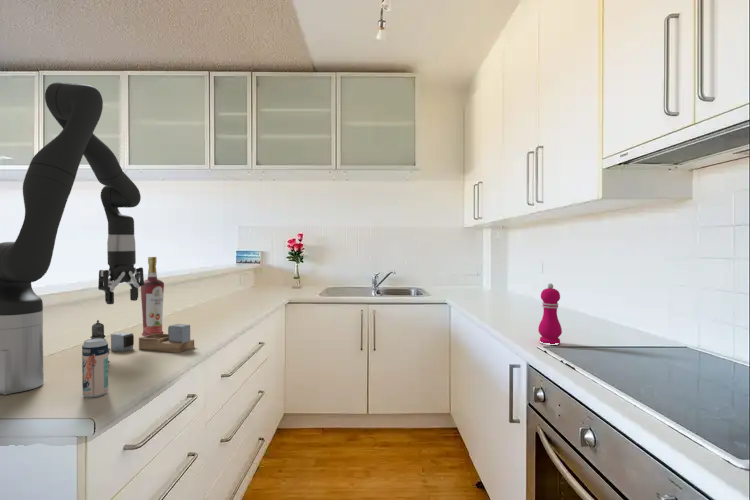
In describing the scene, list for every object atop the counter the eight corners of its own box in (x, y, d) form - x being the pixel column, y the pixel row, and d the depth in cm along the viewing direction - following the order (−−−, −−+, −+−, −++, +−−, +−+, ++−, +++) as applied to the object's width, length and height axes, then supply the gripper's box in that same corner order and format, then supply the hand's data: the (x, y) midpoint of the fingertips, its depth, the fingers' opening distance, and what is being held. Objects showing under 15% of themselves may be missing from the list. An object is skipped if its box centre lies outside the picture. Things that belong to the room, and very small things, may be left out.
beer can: (80, 394, 97) (79, 340, 97) (105, 389, 100) (104, 336, 100) (85, 400, 94) (84, 343, 93) (111, 395, 97) (110, 340, 97)
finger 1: (124, 352, 135) (124, 335, 135) (111, 350, 137) (110, 334, 136) (134, 349, 138) (134, 333, 138) (120, 348, 140) (120, 332, 140)
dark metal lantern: (98, 367, 118) (98, 322, 118) (80, 365, 120) (79, 321, 119) (115, 361, 124) (115, 318, 124) (97, 360, 125) (97, 317, 125)
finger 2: (182, 343, 135) (182, 326, 135) (167, 341, 137) (167, 325, 137) (190, 340, 139) (190, 324, 139) (176, 339, 140) (175, 323, 140)
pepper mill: (533, 342, 150) (534, 282, 149) (551, 340, 152) (552, 282, 151) (548, 347, 143) (548, 284, 142) (566, 345, 145) (567, 284, 145)
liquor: (148, 340, 150) (148, 257, 150) (136, 338, 154) (135, 257, 153) (168, 336, 156) (168, 256, 156) (156, 334, 160) (155, 256, 160)
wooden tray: (177, 352, 134) (177, 341, 134) (138, 348, 139) (138, 337, 138) (194, 347, 140) (194, 336, 140) (156, 343, 145) (156, 333, 145)
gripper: (110, 250, 129) (111, 306, 129) (149, 249, 142) (150, 299, 143) (91, 250, 131) (92, 305, 132) (131, 249, 145) (132, 298, 145)
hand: (122, 302), depth 137 cm, fingers open, 8 cm apart
